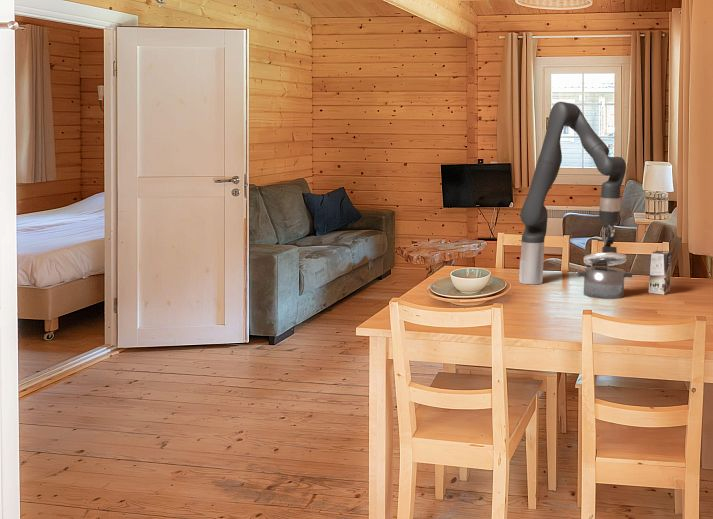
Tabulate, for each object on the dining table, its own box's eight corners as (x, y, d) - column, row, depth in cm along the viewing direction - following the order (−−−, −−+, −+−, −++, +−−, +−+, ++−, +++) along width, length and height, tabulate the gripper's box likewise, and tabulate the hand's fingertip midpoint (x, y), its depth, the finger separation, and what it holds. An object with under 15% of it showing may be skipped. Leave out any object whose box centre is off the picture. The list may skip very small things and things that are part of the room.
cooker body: (580, 298, 348) (582, 272, 346) (571, 289, 365) (572, 265, 363) (635, 299, 347) (636, 273, 346) (623, 290, 364) (624, 266, 363)
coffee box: (664, 294, 357) (667, 254, 354) (648, 293, 360) (650, 252, 358) (670, 291, 364) (673, 251, 362) (653, 289, 368) (656, 249, 365)
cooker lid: (588, 255, 345) (588, 246, 346) (579, 265, 361) (579, 257, 362) (631, 256, 345) (631, 247, 346) (620, 266, 361) (620, 257, 361)
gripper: (595, 207, 354) (593, 251, 357) (603, 211, 341) (601, 257, 344) (615, 207, 354) (612, 251, 357) (624, 211, 341) (621, 257, 344)
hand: (606, 254), depth 351 cm, fingers closed
